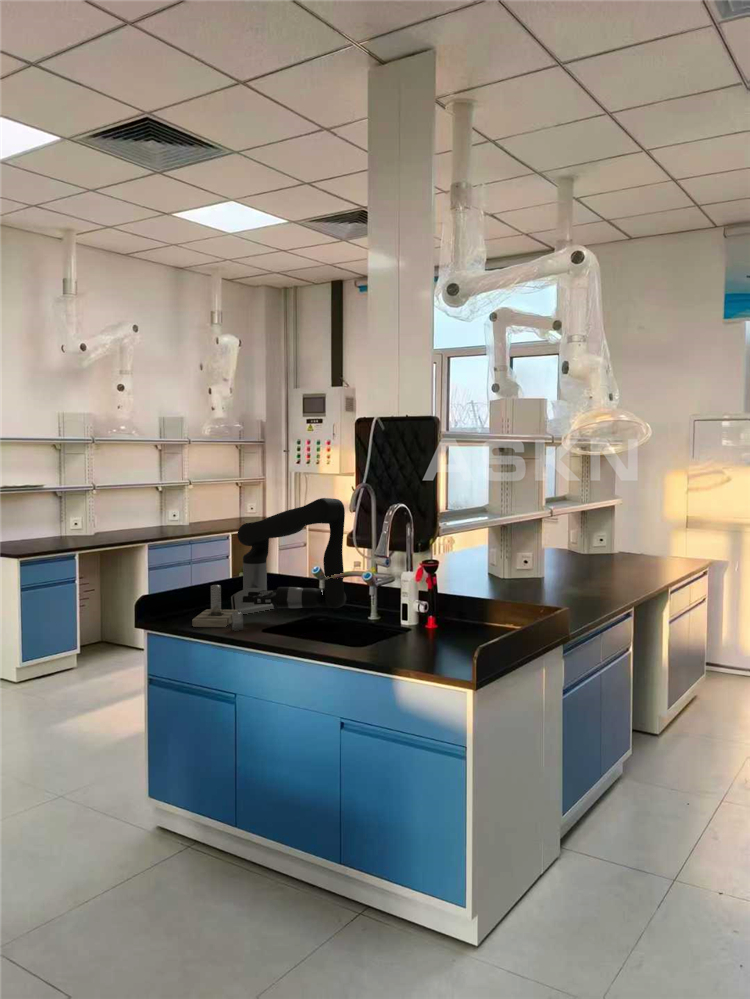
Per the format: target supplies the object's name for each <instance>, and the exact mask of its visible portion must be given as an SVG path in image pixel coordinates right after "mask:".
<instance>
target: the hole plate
mask: <svg viewBox="0 0 750 999" xmlns="http://www.w3.org/2000/svg"><path fill="white" fill-rule="evenodd" d="M233 612H238V610H232V609H221V616H211V608H209V609H208V608H207V609H205V610H203V611H202V612H201V613H199V614H198V615H197V616H195V617H194V618H193V619H192V622H191V623H192V625H191V626H193V628H195V627H196V628H197V627H198V628H199V627H200V628H202V627H203V628H227V627H228V626H229V625H230V624H232V613H233ZM227 625H228V626H227ZM226 626H227V627H226Z"/></svg>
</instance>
